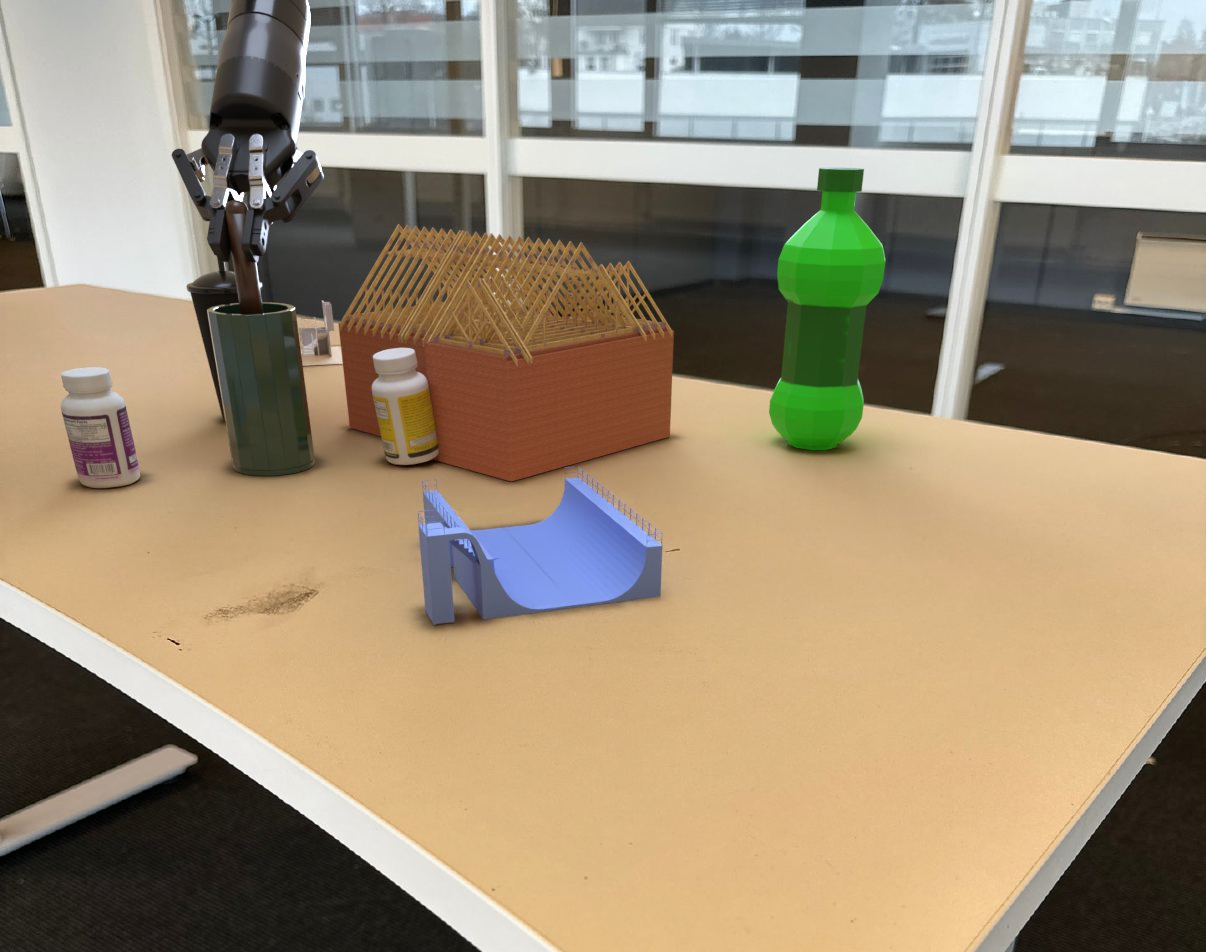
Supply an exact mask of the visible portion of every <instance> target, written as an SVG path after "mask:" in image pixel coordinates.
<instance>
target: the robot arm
mask: <svg viewBox="0 0 1206 952" xmlns="http://www.w3.org/2000/svg"><path fill="white" fill-rule="evenodd" d="M310 9H311V8H310V5H309V1H308V0H231V1H230V5H229V12H228V19H227V24H226V31H225V34H224V37H223V40H222V42H221V45H220V49H219V54H218V59H217V60H218V61H217V66H216V72H215V79H214V84H213V92H212V98H211V104H210V110H209V126H208V127H209V128H208V132H207V133H206V134H205V136H204V138H203V139H202V140H201V144H200V148H198V149H196V150H193V151H191V152H189V153H186V151H185V150H184V149H183V148H175V149H174V150H173V151H172V152H171V158H172V160H173V162H174V164H175V166H176V169H177V171H178V173H179V175H180V177H181V181H183V184H184V186H185V188H186V190H187V192H188V194H189V197H190V199H191V201H192V203H193V204H194V206H195V208H196V210H197V212H198V214H199V215H200V217H201V219H202V221H204V222H208V230H207V234H206V235H207V236H206V240H207V244H208V246H209V248H210V250H211V251H212V253H213V255H214V256H216V259H217V258H218V260H219V261H220V262H225V263H229V262H230V259H231V254H232V253H231V247H230V240H229V234H228V227H227V221H226V214H225V208H226V205H227V204H228V202H230V201H232V200H240V201H242V202H243V199H244V195H245V193H249V206H250V209H248V210H246V216H245V223H244V229H243V236H242V250H243V252H244V254H245V256H246V258H247V260H248V262H256V263H258V262H259V259H260V257H264V255H265V253H266V251H267V244H268V236H269V228H271V227H272V225H273V223H274V222H277V221H280V222H282V223H285V224H286V223H287V224H288V223H290V222H291V221H292V220H293V219H294V218H295V217H296V216H297V214H298V213H299V211H300V210H301V209H302V207H303V206H304V205H305V204H306V202H307V201H308V200H309V198H310V197H311V196H312V194H313V193H314V192H315V191H316V190H317V188H318V187H319V185H320V184H321V183H322V182H323V180H324V178H325V175H324V172H323V169H322V166H321V164H320V161H319V158H318V156H317V153H316V152H315V151H314V150H312V149H307V150H305V151H301V150H299V148H298V146H297V145H298V139H299V133H300V125H301V124H300V123H301V117H302V112H303V111H302V110H303V103H304V100H305V98H306V78H307V77H306V75H307V74H306V72H307V71H306V61H307V53H308V48H309V47H308V46H309V39H310V29H311V11H310ZM208 165H209V166H210V168H211V170H213V174H212V181H213V188H212V192H211V195H208V194H207V193H206V191H205V189H204V187H203V185H202V183H203V182H205V178H204V177H205V175H206V170H205V169H206V167H207V166H208ZM218 260H217V261H218Z"/></svg>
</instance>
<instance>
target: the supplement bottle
mask: <svg viewBox="0 0 1206 952" xmlns="http://www.w3.org/2000/svg"><path fill="white" fill-rule="evenodd" d="M373 362H374V367H375V371H376V373H378V374H379V377H378V378H377V379H376V380H375V381H374V382H373V384H372V395H373V400H374V404H375V409H376V414H377V419H378V424H379V428H380V433H381V436H380V438H381V442H382V447H383V448H382V449H383V453H384V456H385V459H386V460H387V462H389V463H391V464H392V465H397V466H398V465H399V466H409V465H416V464H422V463H426V462H429V461H431V460H433V458H435V457H436V456H437V455H438V453H439V450H438V442H437V434H436V427H435V421H434V415H433V408H432V402H431V396H430V390H429V385H428V381H427V379H426V377H425V376H424V375H423V374H421V373H419V372H416V367H417V359H416V354H415V350H414V349H411V348H394V349H388V350H383V351H380V352H378V353H376V354H374V355H373Z"/></svg>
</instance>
